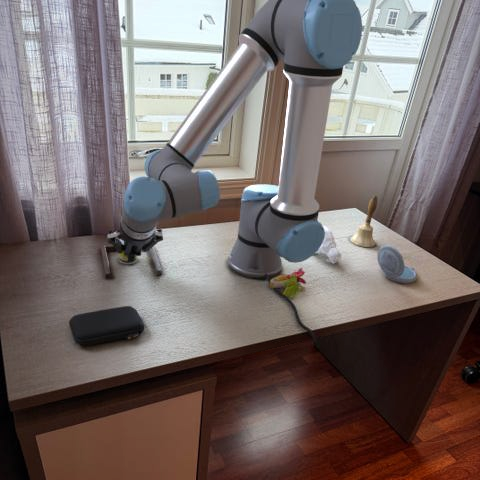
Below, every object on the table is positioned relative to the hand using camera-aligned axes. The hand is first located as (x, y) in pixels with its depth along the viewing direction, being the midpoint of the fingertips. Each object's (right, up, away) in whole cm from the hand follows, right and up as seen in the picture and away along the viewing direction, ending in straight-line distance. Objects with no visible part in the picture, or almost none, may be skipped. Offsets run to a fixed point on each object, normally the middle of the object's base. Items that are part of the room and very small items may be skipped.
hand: (130, 256), depth 118 cm
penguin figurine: (+55, +2, +20) cm, 59 cm away
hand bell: (+71, +9, +32) cm, 78 cm away
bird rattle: (+39, -8, -3) cm, 40 cm away
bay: (-1, 0, +5) cm, 5 cm away
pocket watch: (+76, -4, +15) cm, 78 cm away
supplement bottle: (-2, -1, +5) cm, 5 cm away
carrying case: (+1, -20, -22) cm, 29 cm away
